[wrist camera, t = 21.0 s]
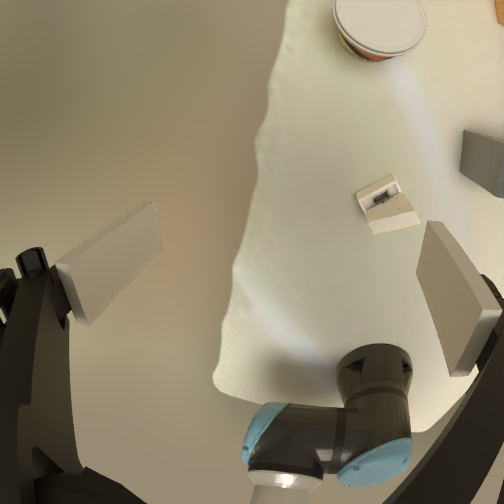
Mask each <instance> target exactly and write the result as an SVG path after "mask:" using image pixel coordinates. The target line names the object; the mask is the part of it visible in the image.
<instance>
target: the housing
mask: <svg viewBox="0 0 504 504" xmlns="http://www.w3.org/2000/svg"><path fill="white" fill-rule="evenodd" d="M460 173H462V174H464V175H465V176H467V177H468V178H470V179H471V180H473V181H474V182H476V183H477V184H479V185H480V186H481V187H483V188H484V189H486V190H487V191H489V192H490V193H491V194H493V195H494V196H496V197H499V198H504V141H502V140H499V139H496V138H493V137H489V136H485V135H482V134H478V133H473V132H469V131H465V130H464V135H463V147H462V156H461V164H460Z"/></svg>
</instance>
